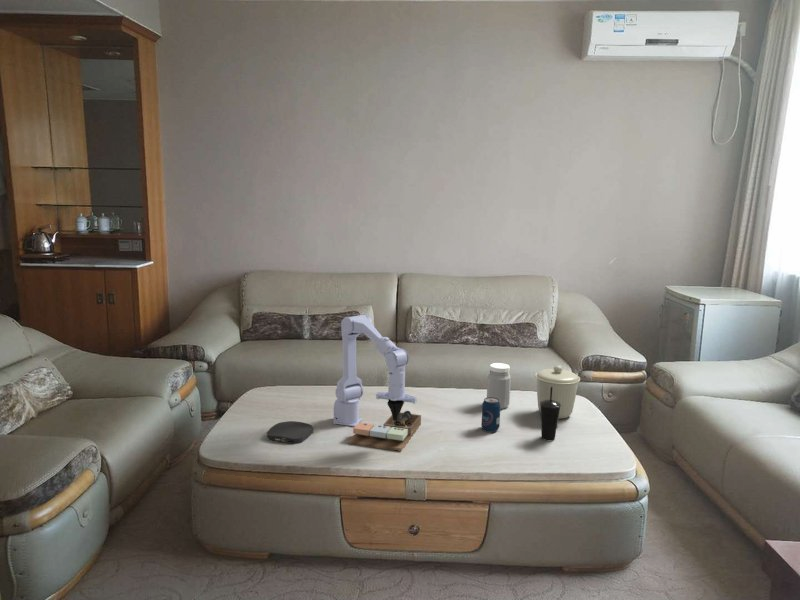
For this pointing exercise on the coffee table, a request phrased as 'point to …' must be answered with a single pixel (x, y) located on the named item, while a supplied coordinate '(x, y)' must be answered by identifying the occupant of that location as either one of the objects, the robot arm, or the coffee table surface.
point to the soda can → (490, 414)
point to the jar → (499, 383)
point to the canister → (557, 388)
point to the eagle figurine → (402, 419)
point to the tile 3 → (397, 433)
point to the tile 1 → (363, 428)
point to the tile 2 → (379, 431)
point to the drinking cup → (549, 417)
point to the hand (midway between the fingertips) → (395, 419)
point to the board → (386, 442)
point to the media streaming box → (290, 432)
